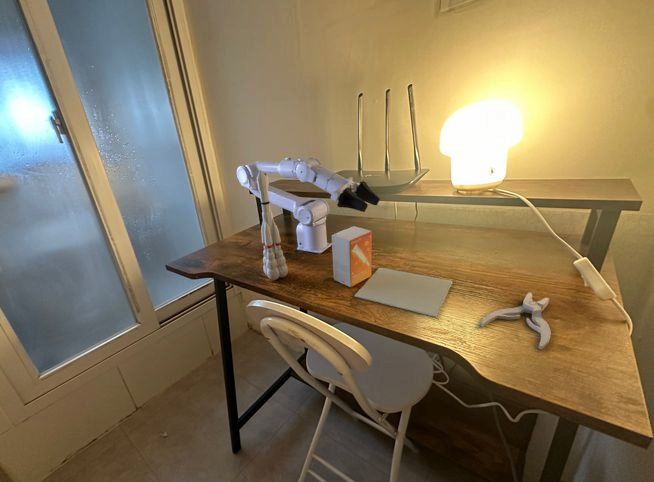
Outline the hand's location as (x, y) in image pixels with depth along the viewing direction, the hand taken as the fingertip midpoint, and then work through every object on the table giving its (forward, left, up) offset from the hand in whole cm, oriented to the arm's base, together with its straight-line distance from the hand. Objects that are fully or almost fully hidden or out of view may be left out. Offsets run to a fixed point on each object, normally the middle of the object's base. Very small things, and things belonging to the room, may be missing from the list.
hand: (372, 205), depth 82 cm
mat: (+13, -13, -16) cm, 24 cm away
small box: (0, -13, -16) cm, 21 cm away
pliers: (+36, -14, -16) cm, 42 cm away
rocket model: (-20, -21, -16) cm, 33 cm away
